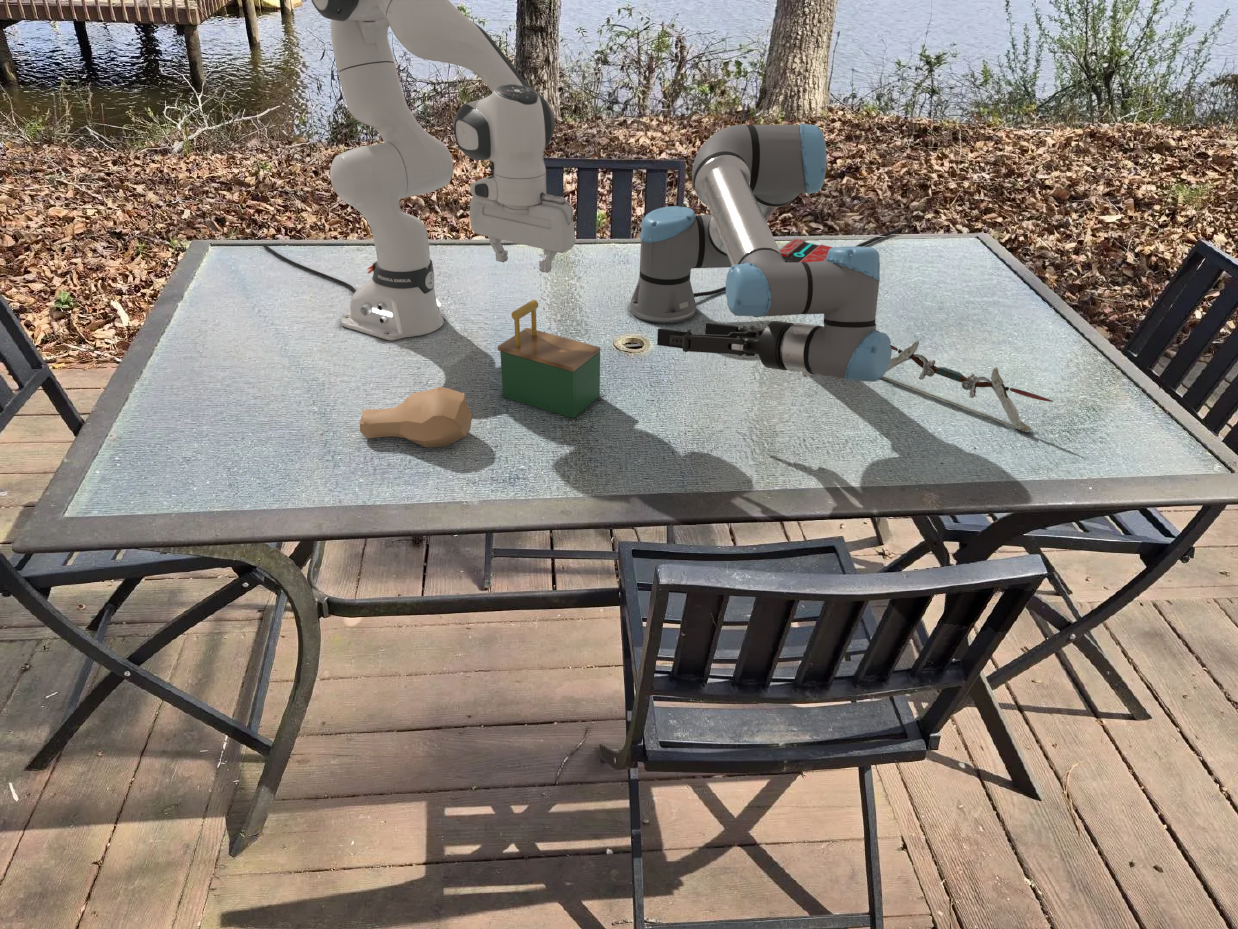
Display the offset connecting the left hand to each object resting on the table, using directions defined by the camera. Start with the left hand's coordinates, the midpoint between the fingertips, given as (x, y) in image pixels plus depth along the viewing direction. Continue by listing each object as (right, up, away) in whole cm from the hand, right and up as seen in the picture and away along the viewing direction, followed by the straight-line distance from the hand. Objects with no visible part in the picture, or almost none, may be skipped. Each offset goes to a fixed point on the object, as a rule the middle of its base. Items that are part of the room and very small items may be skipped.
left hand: (523, 266), depth 158 cm
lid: (+4, -14, +7) cm, 16 cm away
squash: (-19, -31, -2) cm, 36 cm away
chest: (+4, -23, +12) cm, 26 cm away
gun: (+60, +13, +68) cm, 92 cm away
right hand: (+28, -13, -7) cm, 32 cm away
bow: (+81, -23, +14) cm, 85 cm away
